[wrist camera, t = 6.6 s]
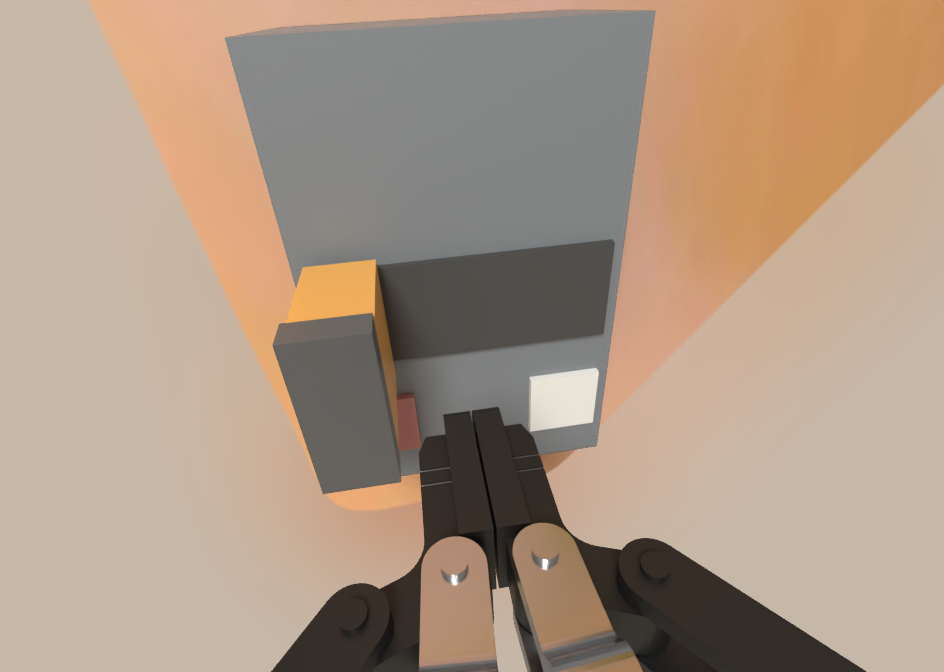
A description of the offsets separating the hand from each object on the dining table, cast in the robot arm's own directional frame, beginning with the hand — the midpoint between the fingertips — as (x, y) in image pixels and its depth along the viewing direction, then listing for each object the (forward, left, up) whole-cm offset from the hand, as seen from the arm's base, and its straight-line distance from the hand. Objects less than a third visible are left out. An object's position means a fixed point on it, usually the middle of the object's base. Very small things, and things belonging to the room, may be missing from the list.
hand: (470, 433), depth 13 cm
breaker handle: (+3, 0, -6) cm, 7 cm away
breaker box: (-1, 0, -15) cm, 15 cm away
